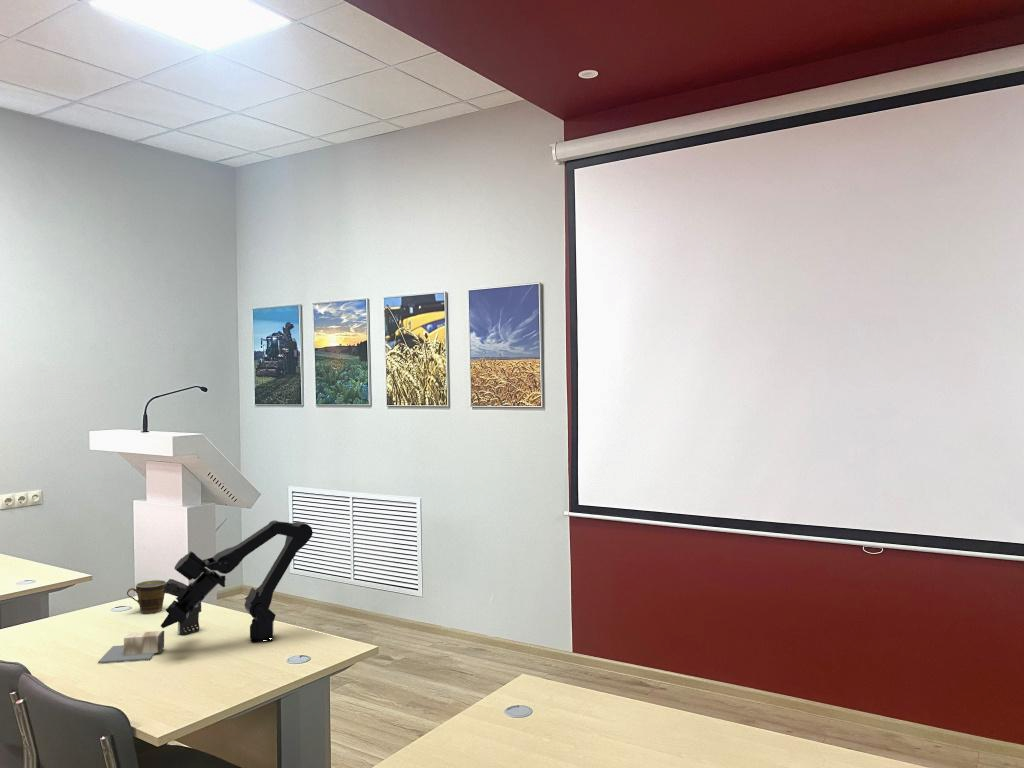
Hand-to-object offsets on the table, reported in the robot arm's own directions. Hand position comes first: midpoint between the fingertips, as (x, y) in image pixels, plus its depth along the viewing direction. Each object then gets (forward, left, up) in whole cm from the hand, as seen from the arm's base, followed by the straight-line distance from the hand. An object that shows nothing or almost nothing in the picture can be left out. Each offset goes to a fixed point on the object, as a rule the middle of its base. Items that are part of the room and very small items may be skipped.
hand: (162, 626), depth 229 cm
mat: (+9, 0, -7) cm, 11 cm away
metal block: (0, 0, -4) cm, 4 cm away
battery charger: (-4, -18, -8) cm, 20 cm away
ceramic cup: (+16, -46, -8) cm, 49 cm away
